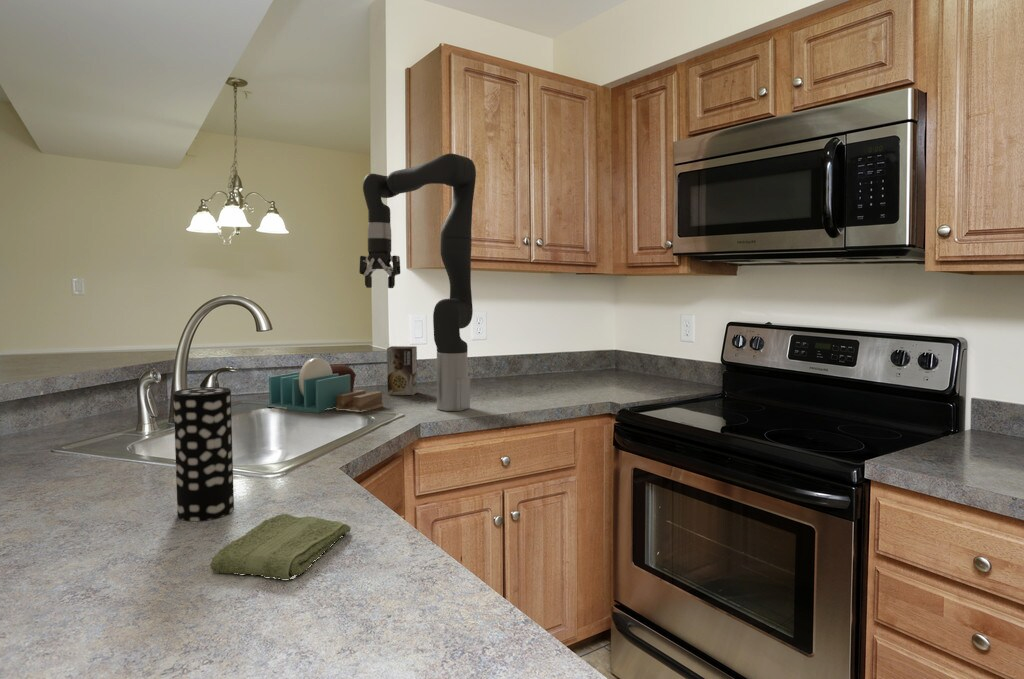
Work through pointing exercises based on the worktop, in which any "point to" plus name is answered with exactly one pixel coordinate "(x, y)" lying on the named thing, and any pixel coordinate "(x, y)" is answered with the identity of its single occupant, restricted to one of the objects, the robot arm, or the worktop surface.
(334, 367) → the muffin
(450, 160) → the robot arm
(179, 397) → the spotted tube
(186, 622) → the worktop surface
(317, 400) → the rack
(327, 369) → the plate
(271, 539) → the washcloth
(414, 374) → the coffee box
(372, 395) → the plate stand
